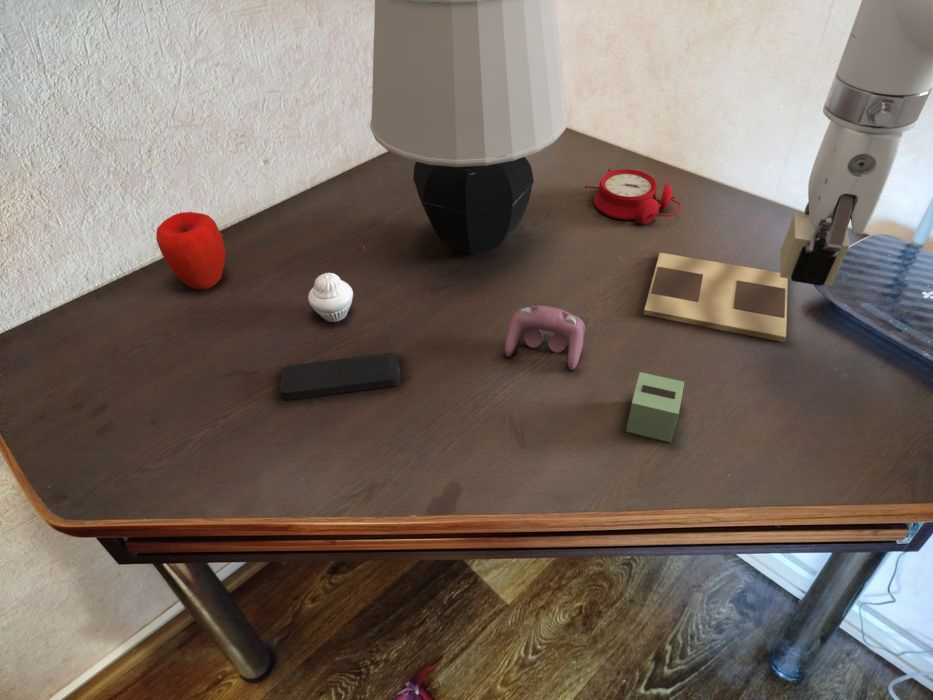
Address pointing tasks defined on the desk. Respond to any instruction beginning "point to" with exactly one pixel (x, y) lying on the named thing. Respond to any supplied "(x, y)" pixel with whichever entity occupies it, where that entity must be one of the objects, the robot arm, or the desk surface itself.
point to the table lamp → (468, 106)
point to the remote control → (340, 376)
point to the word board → (719, 296)
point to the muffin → (331, 297)
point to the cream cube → (798, 239)
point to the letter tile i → (655, 407)
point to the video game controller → (549, 319)
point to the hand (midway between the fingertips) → (806, 264)
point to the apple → (192, 248)
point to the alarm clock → (631, 196)
